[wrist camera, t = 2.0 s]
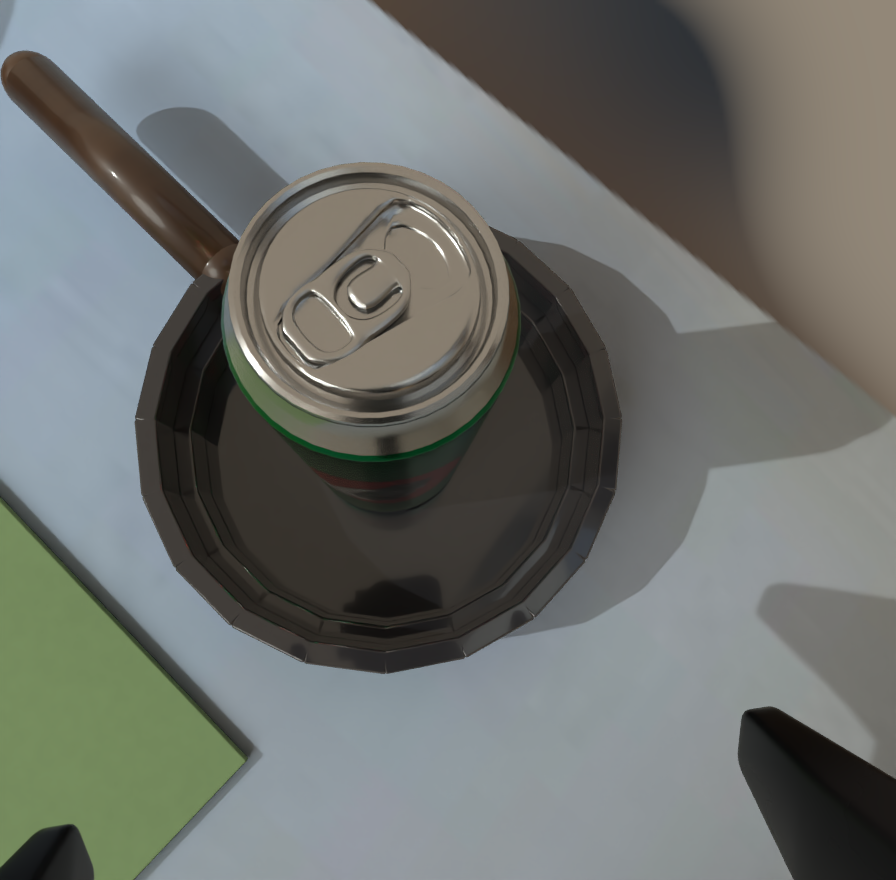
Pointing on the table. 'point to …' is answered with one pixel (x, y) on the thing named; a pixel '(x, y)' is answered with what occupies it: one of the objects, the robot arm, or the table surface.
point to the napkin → (92, 720)
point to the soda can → (372, 328)
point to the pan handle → (119, 165)
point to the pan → (382, 533)
